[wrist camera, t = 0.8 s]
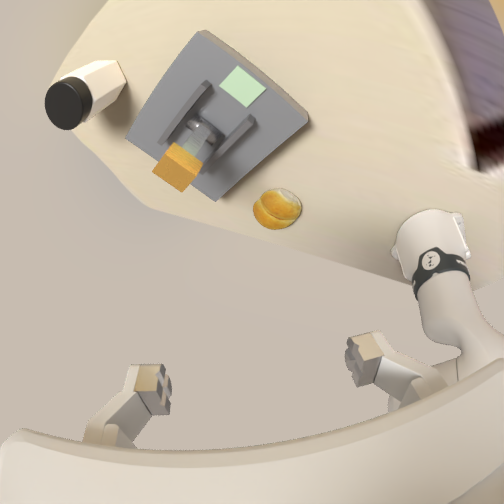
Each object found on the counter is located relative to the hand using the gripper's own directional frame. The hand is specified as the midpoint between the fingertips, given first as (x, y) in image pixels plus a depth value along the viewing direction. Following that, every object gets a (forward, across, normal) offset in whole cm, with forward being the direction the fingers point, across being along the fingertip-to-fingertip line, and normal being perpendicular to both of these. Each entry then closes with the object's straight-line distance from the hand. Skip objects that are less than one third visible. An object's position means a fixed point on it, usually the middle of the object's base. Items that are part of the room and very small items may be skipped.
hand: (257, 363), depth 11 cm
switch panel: (+38, -1, +12) cm, 40 cm away
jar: (+40, -19, +22) cm, 50 cm away
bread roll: (+43, +9, -6) cm, 45 cm away
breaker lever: (+35, -2, +10) cm, 36 cm away
